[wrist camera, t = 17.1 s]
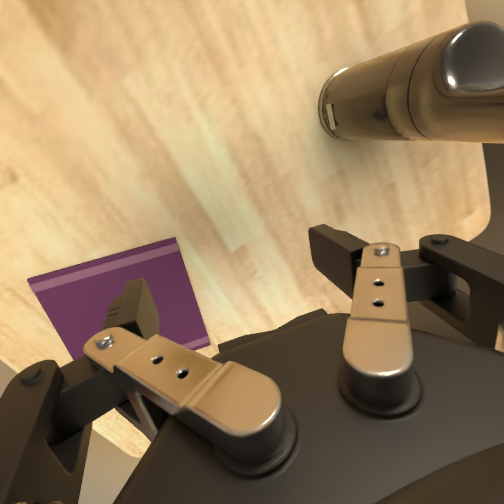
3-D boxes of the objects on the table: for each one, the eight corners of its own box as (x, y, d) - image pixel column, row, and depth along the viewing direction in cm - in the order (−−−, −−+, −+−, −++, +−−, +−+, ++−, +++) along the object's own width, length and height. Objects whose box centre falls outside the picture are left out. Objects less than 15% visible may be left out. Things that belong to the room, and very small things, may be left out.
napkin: (175, 237, 43) (175, 238, 43) (210, 343, 51) (210, 345, 51) (27, 278, 40) (26, 280, 40) (90, 385, 48) (89, 387, 48)
